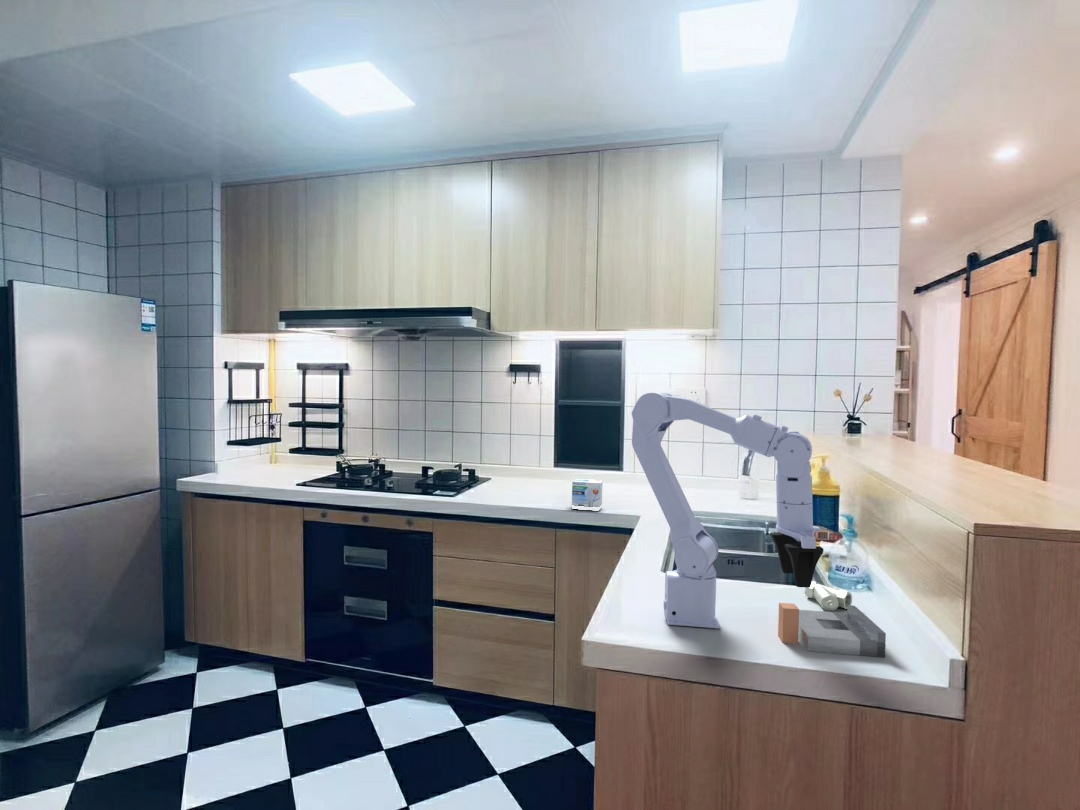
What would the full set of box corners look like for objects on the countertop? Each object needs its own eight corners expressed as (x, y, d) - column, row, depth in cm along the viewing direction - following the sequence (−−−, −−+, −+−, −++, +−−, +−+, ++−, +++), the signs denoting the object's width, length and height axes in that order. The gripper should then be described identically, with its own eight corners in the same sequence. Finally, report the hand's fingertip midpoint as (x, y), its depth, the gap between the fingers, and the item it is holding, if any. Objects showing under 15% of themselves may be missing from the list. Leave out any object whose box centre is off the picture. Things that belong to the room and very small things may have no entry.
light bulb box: (571, 510, 201) (571, 480, 201) (574, 506, 207) (574, 478, 207) (600, 512, 198) (600, 482, 198) (602, 508, 205) (602, 479, 205)
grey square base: (807, 651, 92) (808, 627, 92) (786, 621, 104) (786, 600, 104) (885, 657, 90) (885, 633, 90) (853, 627, 102) (854, 605, 102)
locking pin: (782, 642, 95) (783, 608, 95) (778, 636, 98) (778, 602, 97) (798, 643, 95) (799, 609, 95) (793, 637, 97) (794, 603, 97)
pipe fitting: (835, 617, 108) (852, 607, 112) (835, 598, 108) (852, 589, 111) (796, 604, 114) (813, 595, 118) (796, 586, 114) (813, 578, 118)
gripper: (835, 509, 88) (836, 594, 88) (804, 495, 102) (805, 567, 102) (788, 509, 89) (790, 593, 89) (764, 494, 103) (766, 566, 103)
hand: (795, 579), depth 96 cm, fingers open, 7 cm apart
